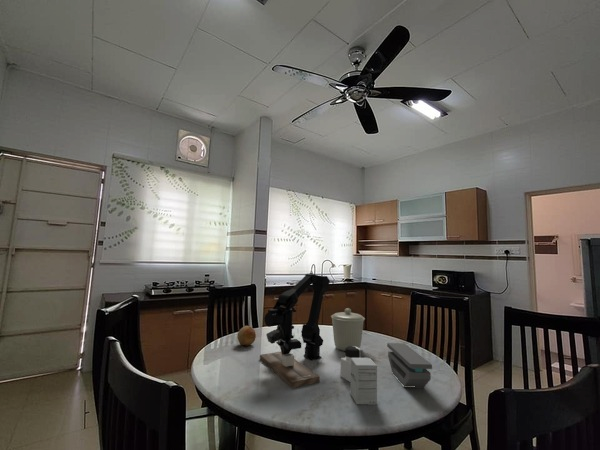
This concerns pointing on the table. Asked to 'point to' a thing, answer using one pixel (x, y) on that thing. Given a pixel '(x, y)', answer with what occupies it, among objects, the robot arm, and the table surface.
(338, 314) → the canister
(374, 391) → the supplement box
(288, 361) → the fader tab
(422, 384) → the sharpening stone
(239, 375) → the table surface
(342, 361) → the medicine bottle
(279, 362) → the board
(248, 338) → the onion
